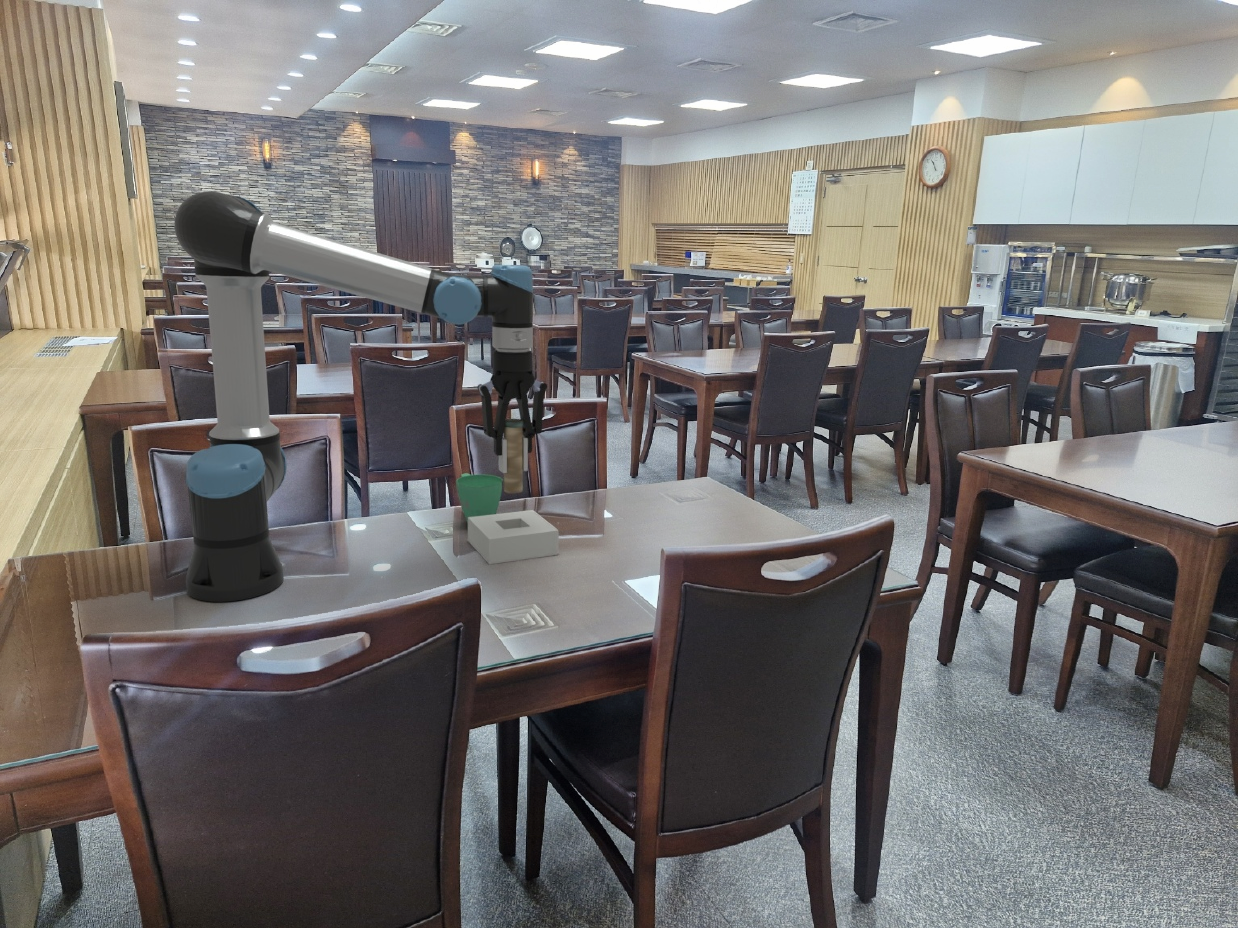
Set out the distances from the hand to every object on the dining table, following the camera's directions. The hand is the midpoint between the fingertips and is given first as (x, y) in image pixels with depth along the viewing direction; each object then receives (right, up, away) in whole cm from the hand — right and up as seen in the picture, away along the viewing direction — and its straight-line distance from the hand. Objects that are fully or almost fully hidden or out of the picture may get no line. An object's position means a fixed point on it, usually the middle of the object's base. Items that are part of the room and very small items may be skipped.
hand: (513, 470), depth 158 cm
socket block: (-1, -15, +4) cm, 16 cm away
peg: (0, -4, +1) cm, 4 cm away
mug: (-11, -12, +19) cm, 24 cm away
